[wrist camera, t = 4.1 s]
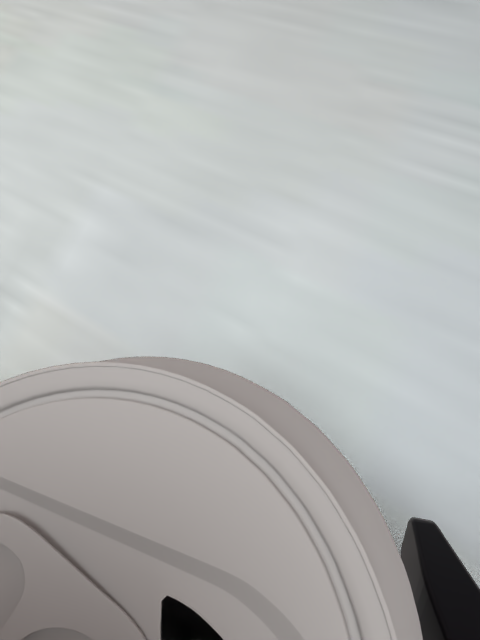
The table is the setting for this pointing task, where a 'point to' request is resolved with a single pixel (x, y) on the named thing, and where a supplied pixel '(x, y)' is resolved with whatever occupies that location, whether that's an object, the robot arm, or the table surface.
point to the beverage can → (184, 513)
